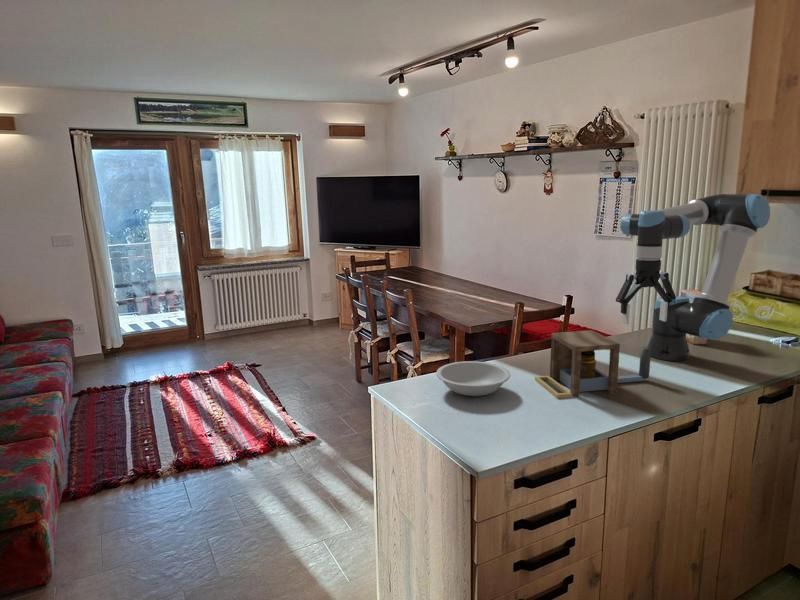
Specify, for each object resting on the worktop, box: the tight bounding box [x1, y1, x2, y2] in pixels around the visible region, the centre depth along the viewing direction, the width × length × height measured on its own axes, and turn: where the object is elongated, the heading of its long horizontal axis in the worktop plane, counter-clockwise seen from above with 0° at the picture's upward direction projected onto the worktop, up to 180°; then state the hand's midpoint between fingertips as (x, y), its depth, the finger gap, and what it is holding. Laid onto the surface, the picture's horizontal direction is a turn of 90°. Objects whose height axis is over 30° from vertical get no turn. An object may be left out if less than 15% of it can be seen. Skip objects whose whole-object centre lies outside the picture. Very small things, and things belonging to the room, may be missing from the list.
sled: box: [558, 346, 652, 393], centre depth 181 cm, size 30×11×11 cm, turn 100°
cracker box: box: [680, 289, 708, 345], centre depth 227 cm, size 14×6×21 cm, turn 179°
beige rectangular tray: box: [534, 375, 573, 399], centre depth 178 cm, size 5×17×1 cm, turn 10°
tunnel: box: [549, 329, 621, 398], centre depth 179 cm, size 15×17×16 cm
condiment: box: [580, 350, 597, 393], centre depth 179 cm, size 7×8×12 cm
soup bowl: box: [435, 360, 511, 397], centre depth 177 cm, size 24×24×7 cm
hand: (644, 321), depth 180 cm, fingers open, 13 cm apart
